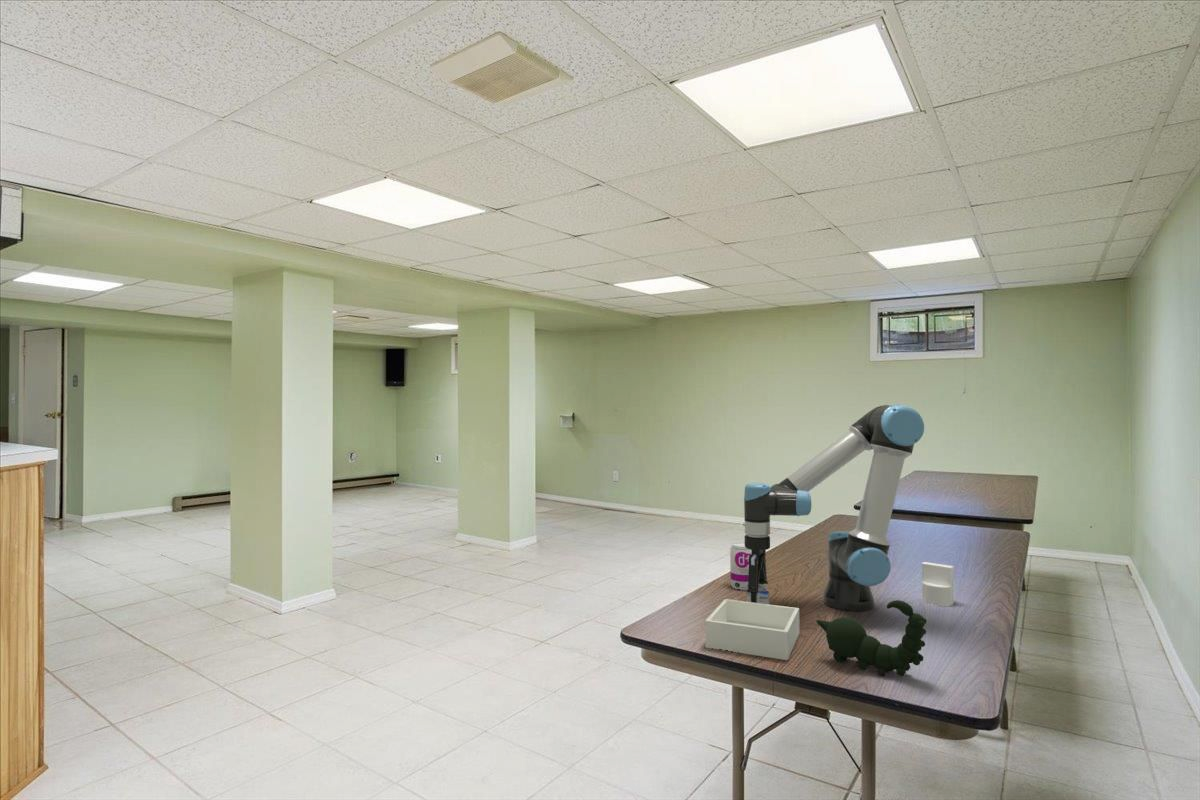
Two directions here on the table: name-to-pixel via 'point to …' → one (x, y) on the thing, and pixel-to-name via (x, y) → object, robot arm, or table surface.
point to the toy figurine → (876, 642)
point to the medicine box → (761, 595)
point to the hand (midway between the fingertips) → (757, 609)
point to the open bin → (753, 629)
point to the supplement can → (739, 565)
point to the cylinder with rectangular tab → (937, 584)
